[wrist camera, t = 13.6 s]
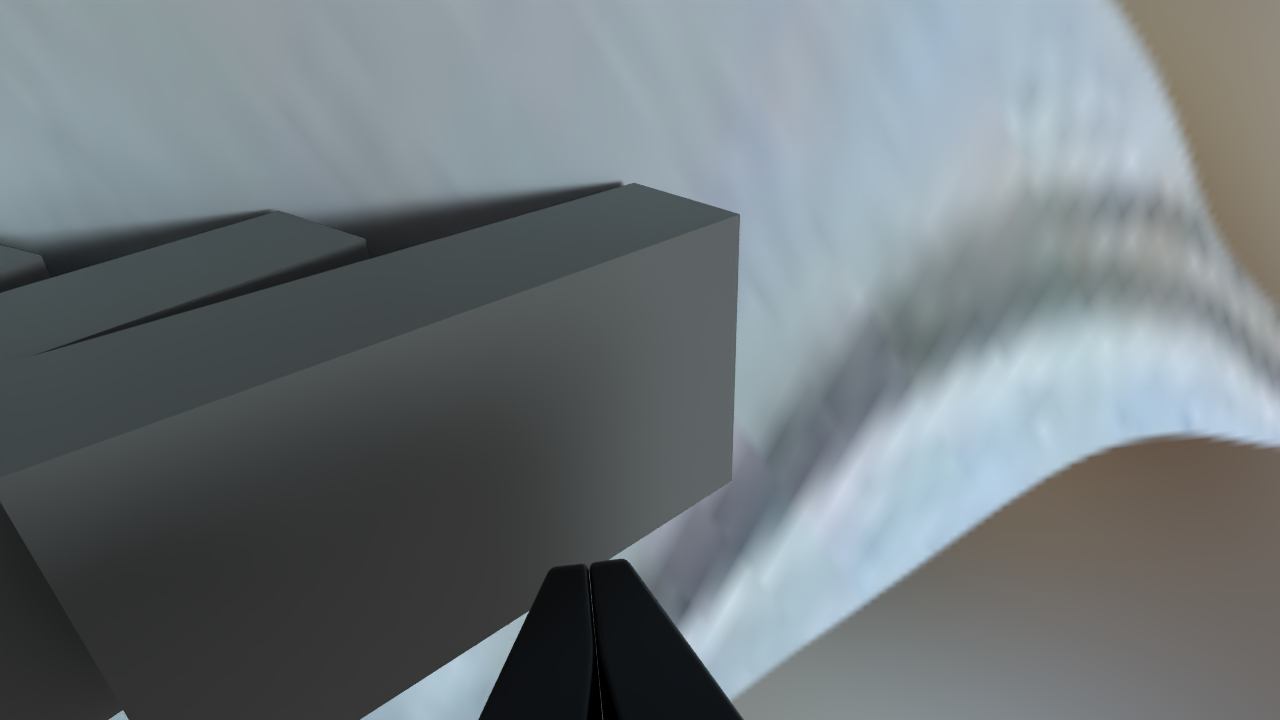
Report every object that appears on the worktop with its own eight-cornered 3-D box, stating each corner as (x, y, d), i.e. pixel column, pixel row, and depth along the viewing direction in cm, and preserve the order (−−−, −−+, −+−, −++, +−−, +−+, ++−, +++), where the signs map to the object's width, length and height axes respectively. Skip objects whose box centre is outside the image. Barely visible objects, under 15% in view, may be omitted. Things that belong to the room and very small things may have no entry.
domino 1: (365, 238, 11) (-842, 663, 5) (426, 504, 13) (-318, 1008, 7) (278, 210, 12) (-759, 517, 6) (347, 458, 15) (-340, 851, 9)
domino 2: (739, 214, 11) (-13, 482, 6) (731, 480, 14) (192, 827, 9) (634, 182, 13) (-31, 374, 8) (643, 426, 15) (145, 691, 10)
